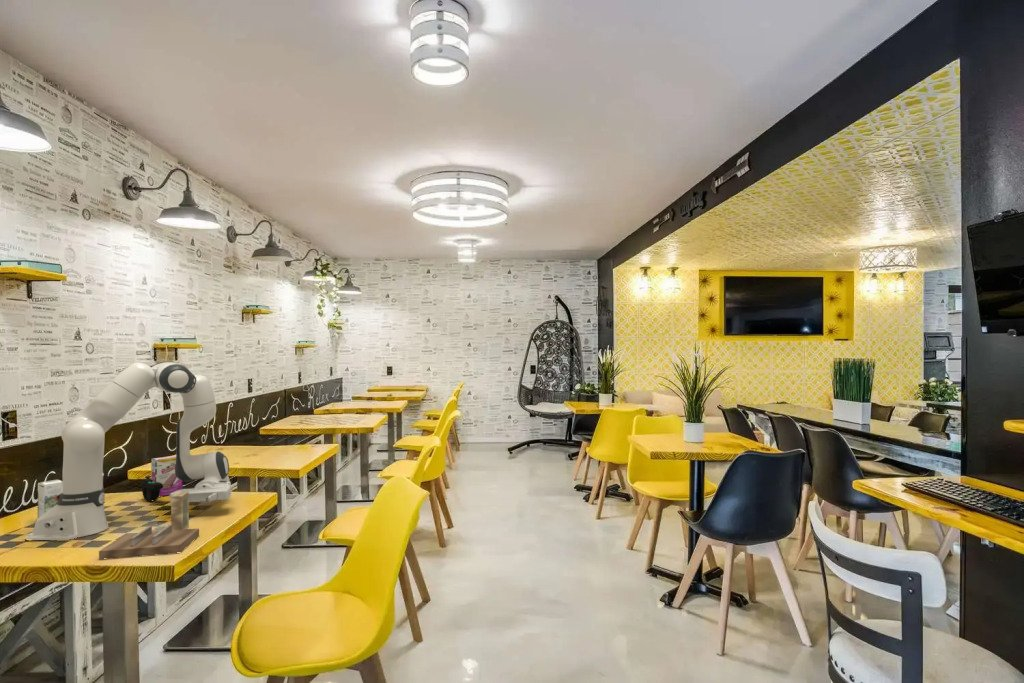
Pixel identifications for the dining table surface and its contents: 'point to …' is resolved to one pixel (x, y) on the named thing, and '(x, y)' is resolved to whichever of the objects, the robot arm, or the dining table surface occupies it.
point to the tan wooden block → (180, 511)
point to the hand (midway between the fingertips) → (193, 500)
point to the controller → (151, 489)
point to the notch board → (150, 543)
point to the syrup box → (48, 495)
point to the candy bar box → (165, 474)
